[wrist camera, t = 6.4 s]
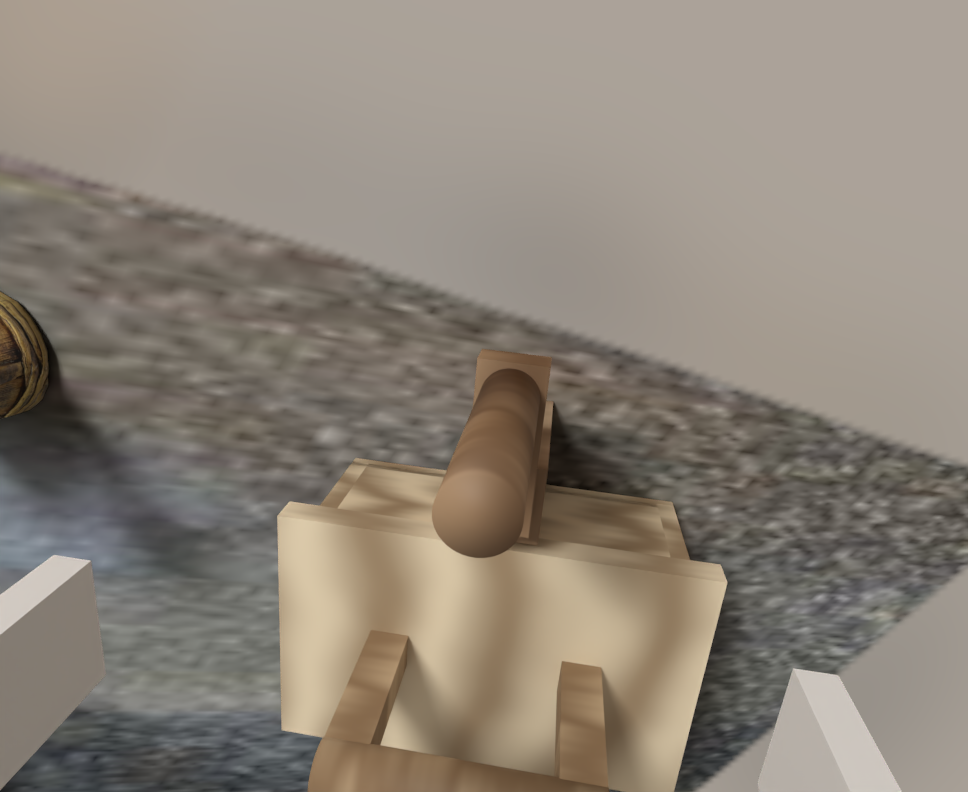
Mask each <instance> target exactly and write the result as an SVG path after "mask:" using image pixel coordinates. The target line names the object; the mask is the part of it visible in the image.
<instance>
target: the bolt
mask: <svg viewBox="0 0 968 792" xmlns="http://www.w3.org/2000/svg"><path fill="white" fill-rule="evenodd" d="M551 359H552V357H545V356H537V355H529V354H520V353H512V352H504V351H496V350H487V349H482V350H481V352H480V354H479V356H478V358H477V369H476V380H475V391H474V402H473V409H472V411H471V414H470V416H469V419H468V421H467V423H466V426H465V428H464V431H463V433H462V435H461V438H460V440H459V443H458V445H457V447H456V450H455V452H454V454H453V457H452V459H451V462H450V464H449V466H448V469H447V471H446V474H445V476H444V478H443V481H442V483H441V486H440V488H439V490H438V493H437V495H436V498H435V500H434V503H433V506H432V522H433V525H434V528H435V530H436V533H437V534H438V536H439V537H440V539H441V540H442V541H443V542H444V543H445V544H446V545H447V546H448V547H450V548H451V549H452V550H454V551H456V552H458V553H460V554H462V555H465V556H468V557H473V558H488V557H493V556H497V555H499V554H502V553H503V552H505V551H507V550H508V549H510V548H511V547H512V546H513V545H514V544H515V543H516V541H517V540H518V538H519V537H525V538H528V537H529V529H530V522H531V514H532V506H533V499H534V491H535V483H536V476H537V468H538V460H539V453H540V445H541V437H542V430H543V422H544V414H545V407H546V399H547V391H548V384H549V376H550V368H551Z"/></svg>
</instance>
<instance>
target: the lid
mask: <svg viewBox="0 0 968 792" xmlns="http://www.w3.org/2000/svg"><path fill="white" fill-rule="evenodd" d="M277 518H278V568H279V618H280V669H281V719H282V730H284V731H290V732H295V733H301V734H306V735H312V736H318V737H323V739H322V740H321V742H320V744H319V746H318V749H317V751H316V754H315V757H314V760H313V764H312V768H311V772H310V777H309V783H308V792H609V789H612V790H618V791H623V792H674V789H675V785H676V781H677V777H678V774H679V770H680V766H681V762H682V758H683V754H684V750H685V746H686V742H687V738H688V735H689V731H690V727H691V723H692V719H693V715H694V711H695V707H696V703H697V699H698V696H699V692H700V688H701V684H702V680H703V676H704V672H705V668H706V664H707V661H708V657H709V653H710V649H711V645H712V641H713V637H714V633H715V629H716V625H717V622H718V618H719V614H720V610H721V606H722V602H723V598H724V594H725V590H726V587H727V580H726V578H725V575H724V572H723V570H722V567H721V565H719V564H712V563H706V562H699V561H692V560H685V559H678V558H672V557H665V556H658V555H651V554H644V553H637V552H631V551H624V550H617V549H610V548H603V547H597V546H590V545H583V544H576V543H569V542H562V541H556V540H549V539H542V538H539V540H538V545H531V544H524V543H518V542H516V543H515V544H514V545H513V546H512V547H511V548H510V549H508V550H507V551H505V552H503V553H502V554H499V555H497V556H493V557H488V558H473V557H468V556H465V555H462V554H460V553H458V552H456V551H454V550H452V549H451V548H450V547H448V546H447V545H446V544H445V543H444V542H443V541H442V540H441V539H440V537H439V536H438V534H437V533H436V530H435V528H434V525H433V522H426V521H419V520H413V519H406V518H399V517H392V516H385V515H379V514H372V513H365V512H358V511H351V510H344V509H338V508H331V507H324V506H317V505H310V504H304V503H297V502H289V503H288V504H287V505H286V506H285V508H284V509H283V510H282V511H281V512H280V513H279V515H278V516H277Z"/></svg>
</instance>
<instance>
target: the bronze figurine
mask: <svg viewBox="0 0 968 792" xmlns="http://www.w3.org/2000/svg"><path fill="white" fill-rule="evenodd" d="M48 373H49V364H48V350H47V348H46V345H45V342H44V339H43V337H42V334H41V332H40V331H39V329H38V327H37V326H36V324H35V322H34V320H33V319H32V317H31V316H30V315H29V314H28V313H27V312H26V310H25V309H24V308H23V307H22V306H21V305H20V304H19V302H17V301H15V300H14V299H12V298H10V297H8V296H7V295H5V294H3V293H2V292H0V419H2V418H6V417H9V416H13V415H16V414H19V413H22V412H25V411H28V410H31V409H32V408H33V407H34V406H35V405H37V404H38V403H39V402H40V401H42V399H43V397H44V394H45V392H46V390H47V387H48Z"/></svg>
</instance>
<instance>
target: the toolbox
mask: <svg viewBox="0 0 968 792" xmlns="http://www.w3.org/2000/svg"><path fill="white" fill-rule="evenodd" d="M552 413H553V401H546V407H545V414H544V422H543V430H542V437H541V445H540V453H539V460H538V468H537V476H536V483H535V491H534V499H533V506H532V514H531V522H530V529H529V537H528V538H525V537H519V538H518V540H517V541H516V542H518V543H524V544H531V545H538V540H539V538H542V539H549V540H556V541H562V542H569V543H576V544H583V545H590V546H597V547H603V548H610V549H617V550H624V551H631V552H637V553H644V554H651V555H658V556H665V557H672V558H678V559H685V560H690V558H689V555H688V552H687V549H686V545H685V542H684V539H683V535H682V532H681V529H680V526H679V522H678V519H677V516H676V513H675V509H674V506H673V503H672V502H669V501H661V500H654V499H647V498H640V497H633V496H626V495H618V494H611V493H604V492H597V491H590V490H582V489H575V488H568V487H561V486H554V485H547V484H546V481H547V474H548V464H549V451H550V438H551V425H552ZM445 474H446V470H439V469H432V468H424V467H417V466H410V465H403V464H396V463H388V462H381V461H374V460H367V459H360V458H355V460H354V461H353V462H352V464H351V465H350V466H349V468H348V469H347V470H346V472H345V473H344V474H343V476H342V477H341V478H340V479H339V481H338V482H337V483H336V485H335V486H334V487H333V489H332V490H331V491H330V493H329V494H328V495H327V497H326V498H325V499H324V501H323V502H322V503H321V505H320V506H324V507H331V508H338V509H344V510H351V511H358V512H365V513H372V514H379V515H385V516H392V517H399V518H406V519H413V520H419V521H426V522H432V506H433V503H434V500H435V498H436V495H437V493H438V490H439V488H440V486H441V483H442V481H443V478H444V476H445Z"/></svg>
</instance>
